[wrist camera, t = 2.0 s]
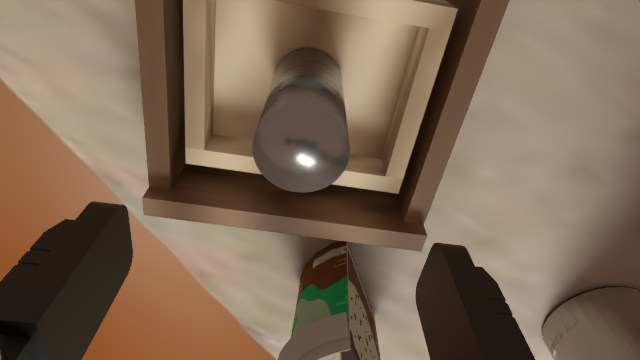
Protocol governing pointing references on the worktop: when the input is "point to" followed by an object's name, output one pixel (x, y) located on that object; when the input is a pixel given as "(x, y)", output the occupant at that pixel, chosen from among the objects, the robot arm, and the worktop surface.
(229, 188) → the bay
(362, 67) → the grey beige boxy piece
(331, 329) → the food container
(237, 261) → the worktop surface
